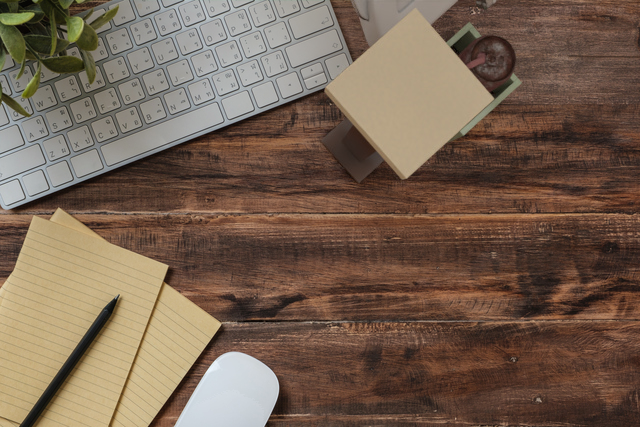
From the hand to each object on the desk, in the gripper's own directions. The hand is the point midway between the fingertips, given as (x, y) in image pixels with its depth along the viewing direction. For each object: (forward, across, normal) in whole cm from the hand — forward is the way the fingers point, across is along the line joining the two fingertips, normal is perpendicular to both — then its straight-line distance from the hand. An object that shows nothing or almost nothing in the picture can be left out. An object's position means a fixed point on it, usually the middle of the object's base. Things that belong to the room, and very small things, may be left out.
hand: (457, 32), depth 55 cm
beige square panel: (-8, -14, -11) cm, 20 cm away
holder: (+13, 0, +6) cm, 14 cm away
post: (+10, -14, +8) cm, 20 cm away
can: (+13, 0, +6) cm, 14 cm away
